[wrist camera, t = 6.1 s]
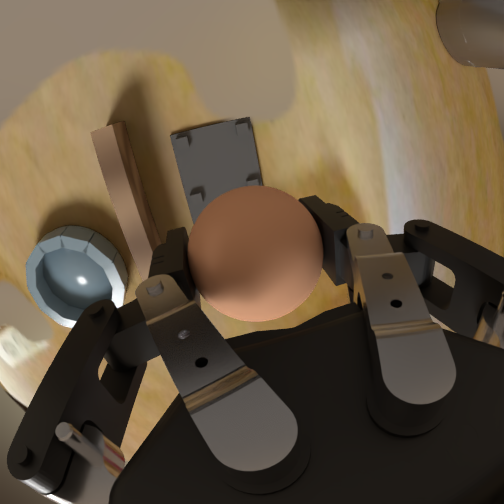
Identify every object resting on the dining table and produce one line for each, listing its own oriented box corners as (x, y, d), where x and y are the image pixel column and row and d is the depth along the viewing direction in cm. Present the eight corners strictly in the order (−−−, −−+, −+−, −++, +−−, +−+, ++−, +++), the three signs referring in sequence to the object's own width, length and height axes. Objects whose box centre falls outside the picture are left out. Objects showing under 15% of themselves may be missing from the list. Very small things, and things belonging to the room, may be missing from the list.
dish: (20, 242, 25) (10, 254, 23) (104, 211, 26) (96, 222, 24) (63, 321, 31) (57, 336, 28) (142, 303, 31) (140, 319, 29)
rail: (105, 127, 22) (90, 132, 19) (124, 120, 23) (112, 124, 19) (169, 308, 32) (168, 335, 29) (184, 304, 32) (185, 331, 29)
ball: (173, 188, 12) (165, 240, 8) (290, 161, 12) (344, 197, 8) (203, 286, 15) (213, 364, 10) (303, 260, 15) (346, 326, 11)
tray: (170, 135, 24) (169, 136, 23) (249, 116, 25) (250, 117, 24) (212, 286, 32) (213, 290, 31) (276, 269, 33) (278, 273, 32)
